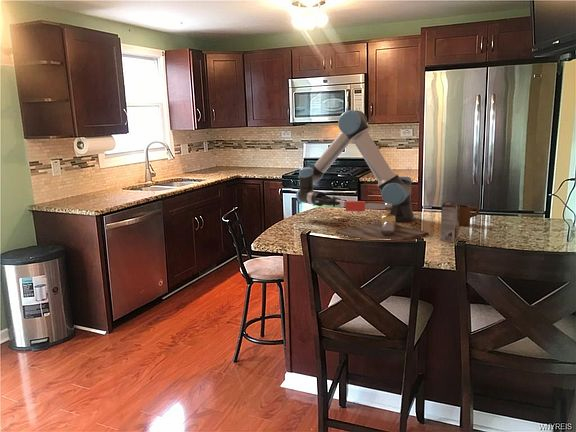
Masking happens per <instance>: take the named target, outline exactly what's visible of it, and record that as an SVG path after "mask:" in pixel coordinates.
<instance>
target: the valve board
mask: <svg viewBox="0 0 576 432" xmlns="http://www.w3.org/2000/svg"><path fill="white" fill-rule="evenodd" d="M381 224H382V221H379V222H374V223H370V224H364V225H359V226H354V227H348V228H344V229H338V230H335V234H336V233H337V234H336V235H338V234H341V235H344V236H343V237H345V236H348V237H349V239H351V238H360V239H391V240H407V241H410V240H411V241H412V240H415V239H420V238H423V237H427V236H430V232H429V231H425V230H420V229H415V228H412V227H409V226H408V227H407V226H404V225H399V224H395V233H394V235H393V236H384V235H383V234H382V232H381ZM341 235H340V236H341ZM348 237H347V238H348Z"/></svg>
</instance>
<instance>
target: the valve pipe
mask: <svg viewBox="0 0 576 432" xmlns="http://www.w3.org/2000/svg"><path fill="white" fill-rule="evenodd" d="M386 213H387V214H386ZM386 213H385V214H382V215H381V222H382V224H381V232H382V234H383V235H384V236H393V235H394V233H395V225H396V221H395V215H391V214H390V210H387V209H386Z"/></svg>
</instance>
